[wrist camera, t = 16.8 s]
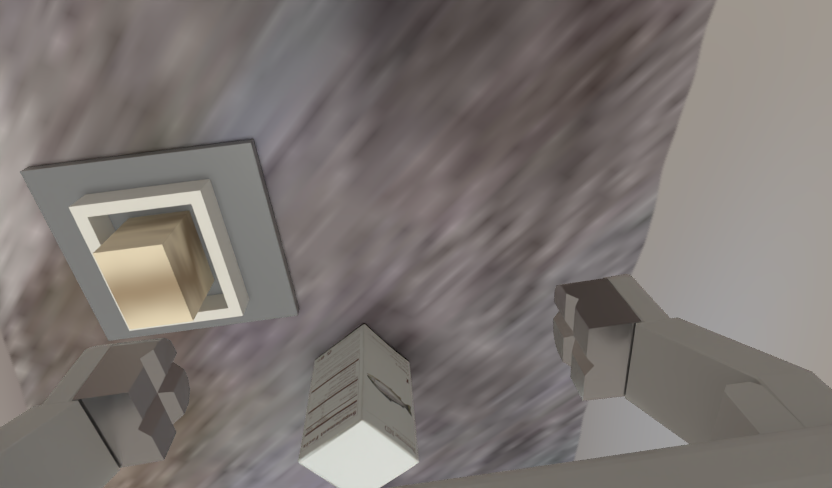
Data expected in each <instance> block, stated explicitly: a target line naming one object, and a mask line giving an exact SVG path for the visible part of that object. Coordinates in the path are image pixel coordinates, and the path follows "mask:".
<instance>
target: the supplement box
mask: <svg viewBox="0 0 832 488" xmlns="http://www.w3.org/2000/svg"><path fill="white" fill-rule="evenodd" d="M298 462H299V463H300V464H301V465H303V466H304V467H306V468H307V469H309V470H311V471H312V472H314V473H315V474H317V475H319V476H320V477H322V478H323V479H325V480H327V481H328V482H329V483H331V484H332V485H334V486H336V487H338V488H380V487H381V486H383V485H385V484H386V483H388V482H389V481H391V480H393V479H394V478H396V477H397V476H399V475H400V474H402V473H403V472H405V471H407V470H408V469H410V468H411V467H413V466H414V465H416V464H417V463H418V462H419V459H418V449H417V439H416V428H415V417H414V407H413V395H412V384H411V374H410V364H409V361H407V360H406V359H405V358H403V357H402V356H401V355H399V354H398V353H397V352H396V351H394V350H393V349H392V348H391V347H390V346H389V345H387V344H386V343H385V342H384V341H383V340H382V339H381V338H380V337H378V336H377V335H376V334H375V333H374V332H373V331H372V330H371V329H370V328H369V327H367V326H366V325H365V324H363V325H362V326H360V327H359V328H357V329H356V330H355V331H353V332H352V333H351V334H349V335H348V336H347V337H345V338H344V339H343V340H341V341H340V342H339V343H337V344H336V345H335V346H333V347H332V348H331V349H329V350H328V351H327V352H325V353H324V354H323V355H321V356H320V357H319V358H317V359H316V360H315V363H314V369H313V375H312V380H311V387H310V393H309V399H308V406H307V412H306V418H305V425H304V431H303V437H302V443H301V449H300V455H299V459H298Z"/></svg>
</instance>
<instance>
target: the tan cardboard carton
mask: <svg viewBox="0 0 832 488" xmlns="http://www.w3.org/2000/svg"><path fill="white" fill-rule="evenodd" d="M93 255H94V257H95V259H96V261H97V263H98V265H99V267H100V269H101V271H102V273H103V276H104V278H105V280H106V282H107V284H108V286H109V288H110V290H111V292H112V294H113V296H114V298H115V300H116V302H117V304H118V306H119V308H120V310H121V312H122V314H123V316H124V318H125V320H126V322H127V325H128V327H129V329H138V328H145V327H153V326H160V325H168V324H175V323H183V322H190V321H193V320H194V319H195V317H196V315H197V313H198V311H199V309H200V307H201V305H202V303H203V301H204V299H205V298H206V296H207V294H208V292H209V290H210V288H211V286H212V284H213V282H214V278H213V275H212V272H211V269H210V267H209V264H208V261H207V258H206V256H205V253H204V250H203V247H202V245H201V242H200V239H199V236H198V234H197V231H196V228H195V225H194V222H193V220H192V217H191V214H190V211H189V210H188V211H180V212H173V213H165V214H157V215H149V216H141V217H133V218H128V219H127V220H126V221H125V222H124V223H123V224H122V225H121V226H120V227H119V228H118V229H117V230H116V231H115V232H114V233H113V234H112V235H111V236H110V237H109V238H108V239H107V240H106V241H105V242H104V243H103V244H102V245H101V246H100V247H99V248H98V249H97V250H96V251H95V252H94V253H93Z"/></svg>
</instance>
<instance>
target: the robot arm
mask: <svg viewBox="0 0 832 488" xmlns="http://www.w3.org/2000/svg"><path fill="white" fill-rule="evenodd" d="M554 302H555V304H556V306H557V308H558V309H559V312H558V313H557V315H556V316H555V317H554V318H553V333H554V339H555V344H556V347H557V350H558V353H559V355H560V357H561V359H562V361H563V362H564V363H566V364H568V365H569V366H571V375H570V377H571V379H572V381H573V383H574V385H575V387H576V389H577V390H578V392H579V394H580V396H581V398H582V400H583V401H587V400H596V399H603V398H604V399H605V398H612V397H622V396H625V398H626V399H627V400H628V401H630V402H631V403H633V404H634V405H635V406H637V407H638V408H640V409H641V410H642V411H644V412H645V413H647V414H648V415H649V416H651V417H652V418H654V419H655V420H656V421H658V422H659V423H661V424H662V425H663V426H665V427H666V428H668V429H669V430H671V431H672V432H673V433H675V434H676V435H678V436H679V437H680V438H682V439H683V440H685V441H686V442H687V443H689V444H688V445H681V446H675V447H667V448H661V449H654V450H647V451H640V452H634V453H627V454H620V455H613V456H606V457H600V458H593V459H587V460H580V461H572V462H566V463H559V464H552V465H545V466H538V467H531V468H524V469H517V470H510V471H502V472H495V473H488V474H481V475H474V476H467V477H460V478H453V479H446V480H439V481H432V482H425V483H418V484H411V485H404V486H398V487H391V488H832V389H831V388H829V386H827V385H826V384H825V383H824V382H823V381H821V379H819V378H818V377H817V376H816V375H815V374H814V373H813V372H811V371H809V370H807V369H804V368H802V367H799V366H797V365H794V364H792V363H789V362H787V361H784V360H782V359H779V358H777V357H774V356H772V355H769V354H767V353H764V352H762V351H760V350H757V349H755V348H752V347H750V346H747V345H745V344H742V343H739V342H737V341H735V340H732V339H730V338H727V337H725V336H722V335H720V334H717V333H715V332H712V331H710V330H707V329H705V328H702V327H700V326H697V325H695V324H692V323H690V322H687V321H685V320H683V319H680V318H669V316H668V315H667V314H666V313H665V312H664V311H663V310H662V309H661V308H660V307H659V306H658V305H657V303H655V301H654V300H653V299H652V298H651V297H650V296H649V295H648V294H647V292H646V291H645V290H644V289H643V288H642V287H641V286H640V285H639V284H638V283H637V282H636V280H635V279H634V278H633V277H632V276H630V275H628V274H623V275H617V276H611V277H605V278H603V279H596V280H589V281H582V282H575V283H569V284H562V285H556V289H555V293H554ZM176 354H177V352H176V350H175V348H174V346H173V344H172V342H171V341H170V340H168V339H166V338H159V339H150V340H141V341H133V342H124V343H117V344H108V345H100V346H93V347H91V348H88V349H86V350H85V351H84V352H83V353H82V355H81V356H80V357H79V358H78V360H77V361H76V362H75V364H74V365H73V366H72V367H71V369H70V370H69V371H68V372H67V374H66V375H65V376H64V377H63V379H62V380H61V381H60V383H59V384H58V385H57V386H56V388H55V389H54V390H53V391H52V393H51V394H50V395H49V396H48V398H47V399H46V400H45V402H44V403H43V404H42V405H40V406H33V407H32V408H30V409H29V410H27V411H25V412H24V413H22V414H21V415H19V416H18V417H16V418H14V419H13V420H11V421H10V422H8V423H7V424H5V425H3V426H2V427H0V488H103V487H104V486H105V485H106V484H107V483H108V482H109V481H110V480H111V479H112V478H113V477H114V476H115V475H116V474H117V473H118V472H119V471H120V468H121V467H127V466H133V465H139V464H145V463H151V462H157V461H163V460H164V459H165V457H166V455H167V452H168V450H169V448H170V446H171V443H172V441H173V439H174V436H175V434H176V430H175V428H174V426H173V424H174V423H175V422H176V421H177V420H178V419H179V418H180V417H182V416H183V415H184V413H185V411H186V408H187V406H188V403H189V394H190V387H189V381H188V377H187V375H186V372H185V370H184V369H183V368H181V367H180V366H178V365H177V364H175V363H174V362H173V361H174V359H175V356H176Z"/></svg>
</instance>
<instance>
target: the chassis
mask: <svg viewBox="0 0 832 488" xmlns="http://www.w3.org/2000/svg"><path fill="white" fill-rule="evenodd" d="M20 173H21V174H22V176H23V178H24V180H25V182H26V184H27V186H28V188H29V190H30V192H31V194H32V195H33V197H34V199H35V201H36V203H37V205H38V207H39V209H40V211H41V213H42V214H43V216H44V218H45V220H46V222H47V224H48V226H49V228H50V230H51V232H52V234H53V235H54V237H55V239H56V241H57V243H58V245H59V247H60V249H61V251H62V253H63V255H64V256H65V258H66V260H67V262H68V264H69V266H70V268H71V270H72V272H73V274H74V276H75V277H76V279H77V281H78V283H79V285H80V287H81V289H82V291H83V293H84V295H85V296H86V298H87V300H88V302H89V304H90V306H91V308H92V310H93V312H94V314H95V316H96V317H97V319H98V321H99V323H100V325H101V327H102V329H103V331H104V333H105V335H106V337H107V338H108V340H109V341H110V340H117V339H125V338H132V337H140V336H147V335H155V334H162V333H170V332H177V331H185V330H192V329H200V328H207V327H215V326H222V325H230V324H237V323H245V322H252V321H260V320H267V319H275V318H282V317H290V316H297V315H298V313H299V306H298V302H297V299H296V295H295V291H294V288H293V284H292V280H291V277H290V273H289V269H288V265H287V262H286V258H285V254H284V251H283V247H282V243H281V240H280V236H279V232H278V228H277V225H276V221H275V217H274V214H273V210H272V206H271V203H270V199H269V195H268V191H267V188H266V184H265V180H264V177H263V173H262V169H261V165H260V162H259V158H258V154H257V151H256V147H255V143H254V140H253V139H251V140H243V141H235V142H226V143H218V144H210V145H202V146H194V147H186V148H178V149H170V150H162V151H154V152H146V153H138V154H130V155H122V156H114V157H106V158H98V159H90V160H82V161H74V162H66V163H58V164H50V165H42V166H34V167H27V168H26V169H24V170H22V171H20ZM188 210H189V211H190V214H191V217H192V220H193V222H194V225H195V228H196V231H197V234H198V236H199V239H200V242H201V245H202V247H203V250H204V253H205V256H206V258H207V261H208V264H209V267H210V269H211V272H212V275H213V278H214V282H213V284H212V286H211V288H210V290H209V292H208V294H207V296H206V298H205V299H204V301H203V303H202V305H201V307H200V309H199V311H198V313H197V315H196V317H195V319H194V320H193V321H190V322H183V323H175V324H168V325H160V326H153V327H145V328H138V329H129V327H128V325H127V322H126V320H125V318H124V316H123V314H122V312H121V310H120V308H119V306H118V304H117V302H116V300H115V298H114V296H113V294H112V292H111V290H110V288H109V286H108V284H107V282H106V280H105V278H104V276H103V273H102V271H101V269H100V267H99V265H98V263H97V261H96V259H95V257H94V255H93V253H94V252H95V251H96V250H97V249H98V248H99V247H100V246H101V245H102V244H103V243H104V242H105V241H106V240H107V239H108V238H109V237H110V236H111V235H112V234H113V233H114V232H115V231H116V230H117V229H118V228H119V227H120V226H121V225H122V224H123V223H124V222H125V221H126V220H127V219H128V218H133V217H141V216H149V215H157V214H165V213H173V212H180V211H188Z"/></svg>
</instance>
